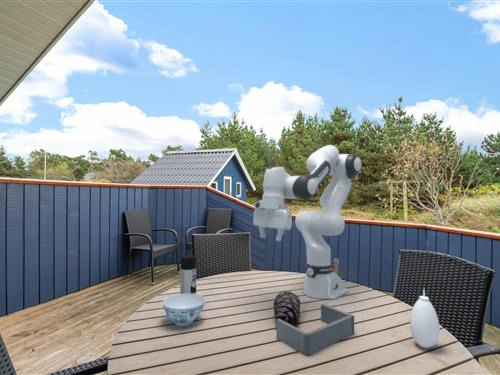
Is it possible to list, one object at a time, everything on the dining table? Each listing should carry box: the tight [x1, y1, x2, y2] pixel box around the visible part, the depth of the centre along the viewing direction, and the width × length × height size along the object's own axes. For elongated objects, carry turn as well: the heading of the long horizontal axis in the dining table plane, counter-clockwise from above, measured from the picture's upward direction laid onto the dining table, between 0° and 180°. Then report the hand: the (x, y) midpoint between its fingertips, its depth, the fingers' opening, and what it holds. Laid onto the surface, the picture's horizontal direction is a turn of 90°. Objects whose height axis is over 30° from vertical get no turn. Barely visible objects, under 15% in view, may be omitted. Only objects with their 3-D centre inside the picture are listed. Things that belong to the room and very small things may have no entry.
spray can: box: [179, 254, 197, 294], centre depth 125 cm, size 7×7×20 cm
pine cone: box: [273, 290, 302, 327], centre depth 107 cm, size 10×18×10 cm, turn 177°
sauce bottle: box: [409, 288, 440, 349], centre depth 91 cm, size 8×8×18 cm
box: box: [276, 303, 355, 357], centre depth 97 cm, size 23×13×6 cm, turn 127°
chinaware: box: [162, 293, 206, 327], centre depth 107 cm, size 15×15×8 cm
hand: (270, 239), depth 118 cm, fingers open, 8 cm apart
